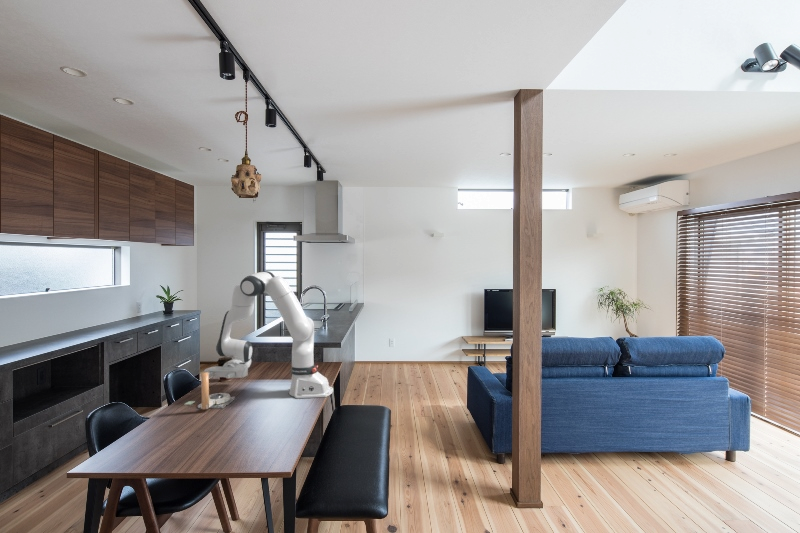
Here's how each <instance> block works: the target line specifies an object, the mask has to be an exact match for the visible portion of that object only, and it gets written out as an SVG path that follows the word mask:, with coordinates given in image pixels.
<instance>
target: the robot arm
mask: <svg viewBox="0 0 800 533" xmlns="http://www.w3.org/2000/svg"><path fill="white" fill-rule="evenodd" d="M264 294H267V295H268V296H269V297H270V298H271V301H272V302H273V304H274V305H275V307H276V308H277V310H278V312H279V314H280V316H281V317H282V319H283V323H284V324H285V326H286V329H287V331H288V332H289V334H290V337H291V338H292V343H291V344H292V347H291V366H290V377H291V381H290V389H289V392H288V394H289V396H291V397H294V398H295V399H309V398H311V399H315V398H326V397H329V396H331V394H333V392H334V387H332V386H330V385H329V379H328V378H327V377H325V376H324V375H323V374H321V373H320V372H319V371H318V367H319V365H316V364H315V362H314V360H315V359H314V357H315V356H314V355H315V354H314V350H315V349H314V348H315V347H314V346H315V322H314V320H313V319H312V318H311V317H309V316H307V314H305V310H304V309H303V306H302V304H301V302H300V301H299V299H298V297H297V296H296V294H295V292H294V291H293V289H292V288H291V286H290V284H289V283H288V282H287V281H286V279H284V277H283V276H279V275H278V276H275V275H274V274H273V272H271V271H268V270H264V271H260V272H254V273H252V274H250V275H248V276H246V277H244V278H243V279H242V280H241V282H240V283H238V284H236V285H235V286H234V289H233V293H232V298H231V307H230V309H229V310H227V311H226V312H225V314H224V317H223V320H222V324H221V329H220V333H219V337H218V341H217V344H216V346H215V351H216V353H217V354H218V355H219V357H231V358H232V360H230V361H228V362H226V363H225V364H224V365H223V367H218V366H211V367H207V368H205V369H204V371H203V373H204V372H208V373H209V379H211V378H220V377H226V378H227V379H229V378H231V379H234V378H237V379H238V378H239V379H241V378H245V377H246V376H247V377H248V374H249V368H250V366H251V365H252V357H253V353H254V347H253V345H252V343H251V341H249V340H243V339H237V338H233V337H231V336H230V335H231V331H232V326H233V324H234V323H236V322H237V323H238V322H241V321H245V320H247V319H249V318H250V317H251V316H252V315H253V313H254V310H255V297H256V296H262V295H264Z"/></svg>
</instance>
